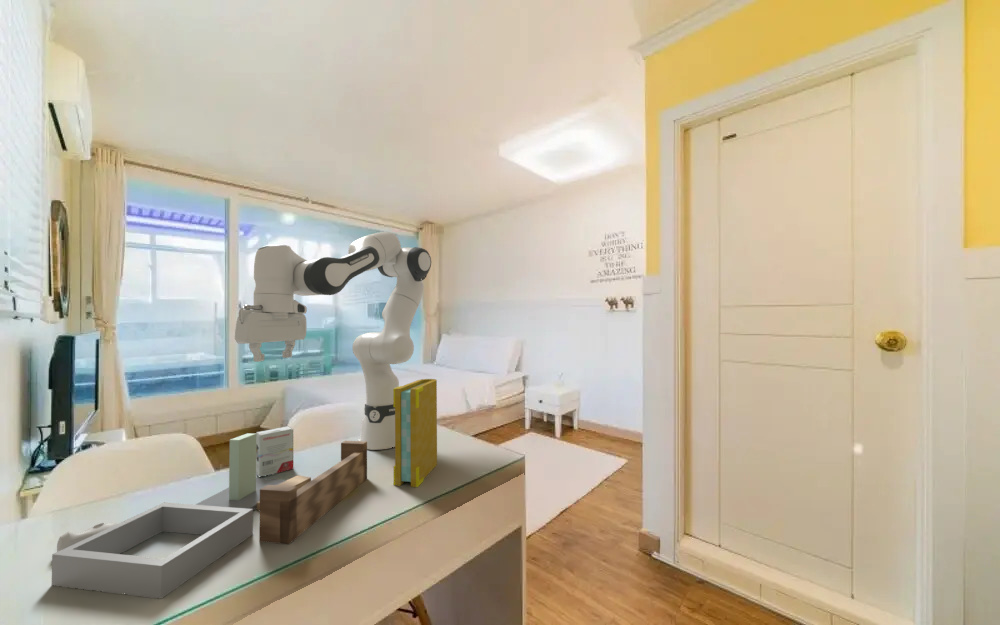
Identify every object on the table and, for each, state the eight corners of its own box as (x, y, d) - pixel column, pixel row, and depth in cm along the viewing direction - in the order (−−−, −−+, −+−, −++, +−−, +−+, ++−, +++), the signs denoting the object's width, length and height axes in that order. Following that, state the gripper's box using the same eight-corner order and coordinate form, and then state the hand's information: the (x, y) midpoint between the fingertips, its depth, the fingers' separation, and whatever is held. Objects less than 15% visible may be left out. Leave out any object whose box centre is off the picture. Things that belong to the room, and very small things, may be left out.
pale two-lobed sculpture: (119, 540, 73) (120, 542, 69) (57, 558, 67) (54, 561, 64) (120, 517, 74) (121, 517, 71) (59, 533, 68) (56, 534, 65)
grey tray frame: (163, 526, 75) (164, 502, 75) (252, 534, 72) (252, 509, 72) (51, 585, 58) (52, 554, 58) (160, 598, 55) (161, 565, 55)
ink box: (289, 464, 108) (289, 425, 108) (293, 469, 104) (294, 428, 105) (255, 473, 102) (255, 431, 102) (259, 478, 98) (259, 435, 99)
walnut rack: (345, 477, 98) (345, 440, 98) (367, 478, 97) (367, 441, 98) (259, 541, 69) (259, 489, 70) (289, 544, 69) (289, 491, 69)
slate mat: (248, 481, 96) (248, 477, 96) (295, 484, 94) (295, 480, 94) (179, 517, 79) (179, 512, 79) (235, 521, 77) (235, 517, 77)
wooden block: (301, 488, 93) (301, 472, 93) (316, 490, 91) (316, 474, 91) (256, 511, 82) (256, 493, 82) (272, 515, 80) (272, 496, 80)
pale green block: (247, 489, 89) (247, 433, 90) (255, 490, 89) (256, 433, 89) (229, 499, 84) (229, 439, 85) (238, 500, 84) (238, 440, 84)
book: (417, 487, 92) (417, 389, 93) (393, 485, 93) (393, 388, 94) (441, 461, 108) (440, 379, 109) (420, 460, 110) (420, 378, 110)
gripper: (251, 304, 83) (251, 364, 82) (310, 307, 103) (310, 355, 102) (227, 304, 83) (227, 364, 83) (291, 307, 104) (290, 355, 103)
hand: (273, 359), depth 93 cm, fingers open, 8 cm apart
